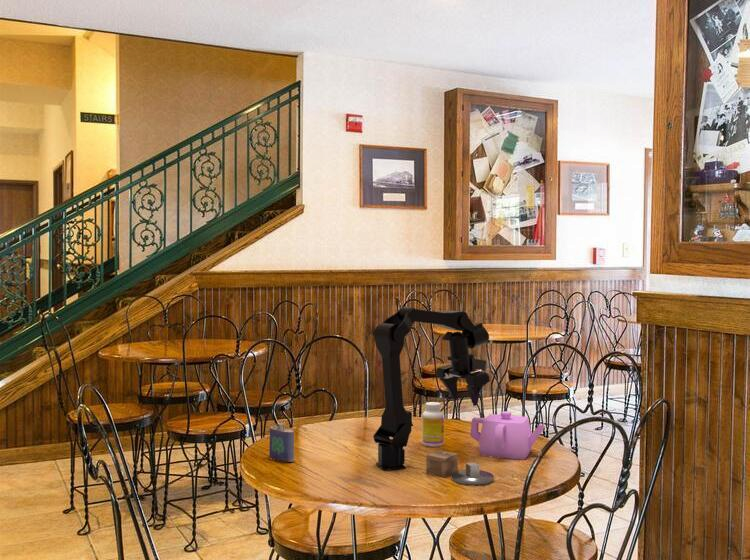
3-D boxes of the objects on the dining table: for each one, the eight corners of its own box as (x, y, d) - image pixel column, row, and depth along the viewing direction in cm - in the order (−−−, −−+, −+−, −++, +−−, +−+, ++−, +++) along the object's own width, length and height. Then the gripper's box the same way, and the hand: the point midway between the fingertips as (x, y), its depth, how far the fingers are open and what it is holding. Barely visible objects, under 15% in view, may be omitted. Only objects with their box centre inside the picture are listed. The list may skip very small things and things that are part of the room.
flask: (295, 461, 207) (295, 424, 206) (288, 464, 204) (288, 426, 204) (273, 456, 213) (273, 419, 212) (266, 458, 210) (265, 421, 210)
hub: (463, 487, 183) (463, 472, 183) (444, 475, 194) (444, 460, 193) (501, 483, 187) (501, 467, 187) (481, 471, 197) (481, 456, 197)
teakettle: (466, 449, 220) (466, 408, 220) (513, 443, 227) (513, 404, 227) (498, 464, 205) (498, 420, 204) (547, 457, 212) (547, 415, 212)
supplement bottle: (444, 447, 222) (444, 405, 222) (422, 447, 222) (422, 405, 222) (442, 442, 229) (443, 401, 229) (421, 441, 229) (421, 401, 229)
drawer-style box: (444, 477, 192) (444, 458, 192) (426, 473, 196) (426, 454, 196) (457, 472, 196) (457, 453, 196) (439, 468, 200) (439, 449, 200)
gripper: (501, 349, 213) (506, 401, 215) (460, 342, 229) (466, 390, 231) (471, 358, 207) (477, 411, 209) (432, 350, 223) (438, 399, 225)
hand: (465, 402), depth 219 cm, fingers open, 9 cm apart
